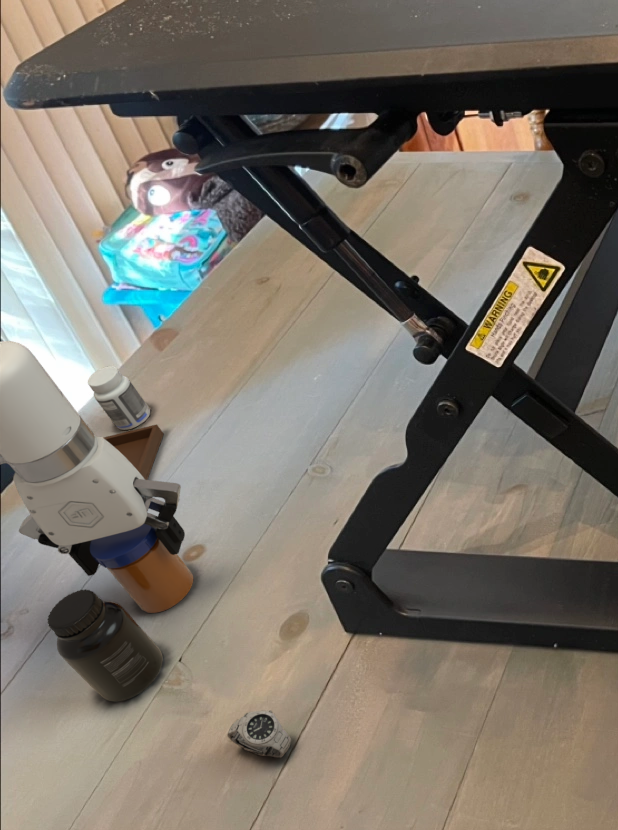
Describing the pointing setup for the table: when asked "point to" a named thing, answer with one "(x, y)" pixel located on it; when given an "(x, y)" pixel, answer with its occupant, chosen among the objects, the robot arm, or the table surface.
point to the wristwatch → (260, 734)
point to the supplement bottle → (104, 645)
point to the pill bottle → (118, 398)
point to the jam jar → (155, 579)
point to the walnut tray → (139, 447)
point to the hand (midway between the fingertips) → (137, 554)
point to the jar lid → (123, 546)
